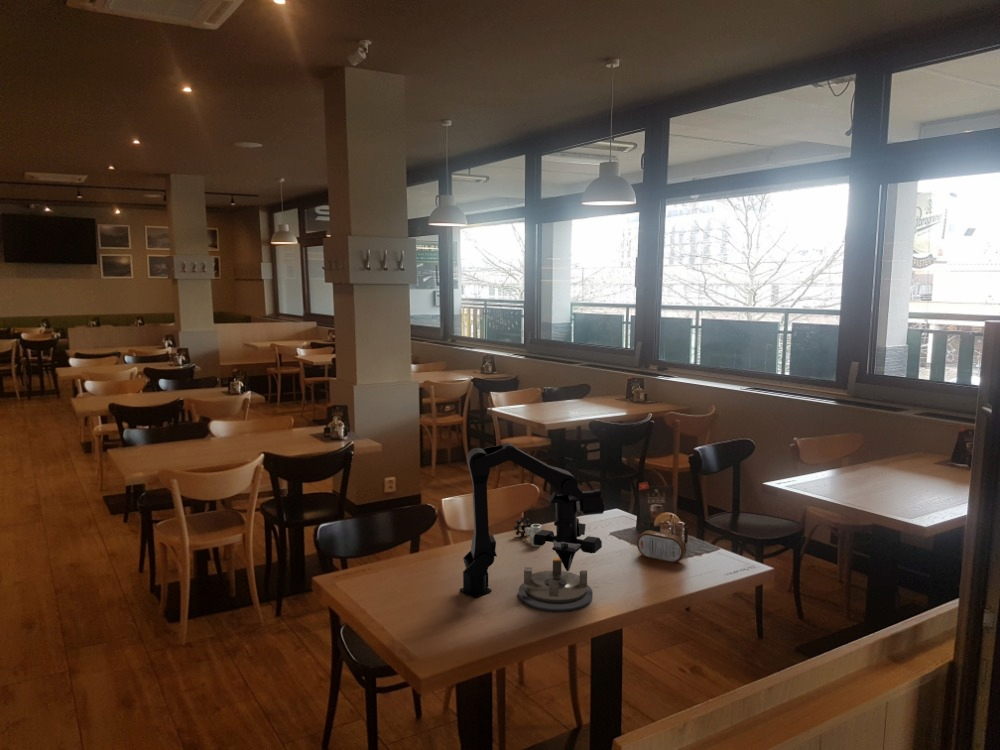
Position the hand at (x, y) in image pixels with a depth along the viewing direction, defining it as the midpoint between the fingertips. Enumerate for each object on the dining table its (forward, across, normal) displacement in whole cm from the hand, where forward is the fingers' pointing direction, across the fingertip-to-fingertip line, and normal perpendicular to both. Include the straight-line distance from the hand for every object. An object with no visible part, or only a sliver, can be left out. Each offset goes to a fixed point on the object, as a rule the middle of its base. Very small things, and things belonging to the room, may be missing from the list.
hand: (567, 570), depth 195 cm
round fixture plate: (+3, 0, +7) cm, 8 cm away
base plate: (+4, 0, +7) cm, 9 cm away
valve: (+4, +26, -27) cm, 38 cm away
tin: (+6, -16, -32) cm, 37 cm away
